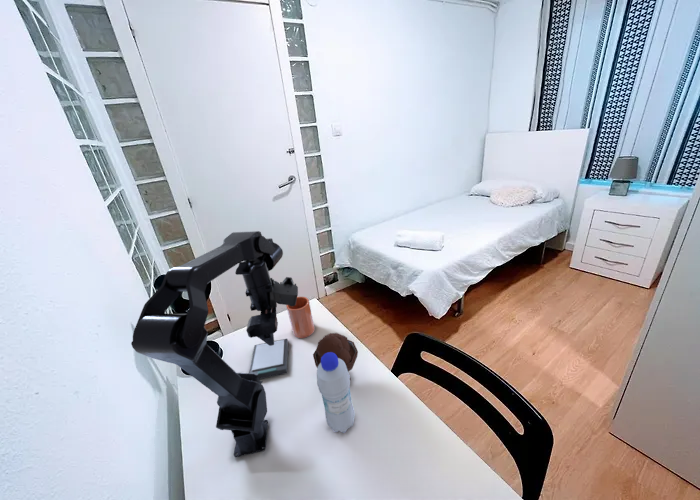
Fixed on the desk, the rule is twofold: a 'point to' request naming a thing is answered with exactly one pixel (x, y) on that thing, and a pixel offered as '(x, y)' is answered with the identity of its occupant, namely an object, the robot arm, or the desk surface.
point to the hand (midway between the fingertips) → (273, 332)
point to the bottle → (335, 392)
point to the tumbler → (301, 318)
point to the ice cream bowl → (336, 349)
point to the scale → (269, 359)
